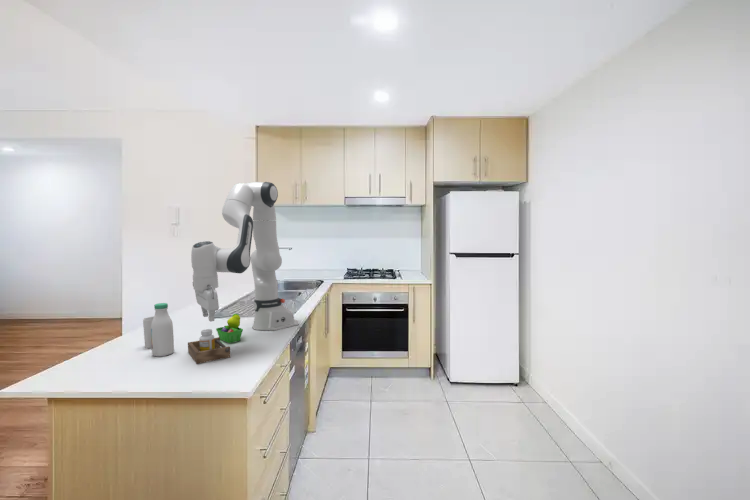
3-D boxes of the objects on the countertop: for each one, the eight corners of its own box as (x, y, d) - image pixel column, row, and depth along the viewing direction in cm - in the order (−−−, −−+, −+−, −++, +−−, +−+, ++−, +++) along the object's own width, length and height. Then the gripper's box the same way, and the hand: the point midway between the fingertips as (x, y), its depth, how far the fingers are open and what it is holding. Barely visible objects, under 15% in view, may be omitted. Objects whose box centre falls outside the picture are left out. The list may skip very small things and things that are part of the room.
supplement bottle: (210, 351, 156) (209, 327, 156) (217, 354, 153) (216, 330, 152) (197, 355, 152) (196, 330, 152) (204, 358, 149) (203, 333, 148)
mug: (157, 348, 161) (156, 319, 160) (140, 348, 161) (139, 320, 160) (169, 341, 171) (168, 314, 171) (154, 341, 171) (152, 314, 170)
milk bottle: (178, 351, 157) (176, 302, 156) (162, 357, 150) (160, 306, 148) (163, 349, 160) (161, 301, 158) (147, 355, 152) (145, 305, 151)
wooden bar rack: (219, 346, 163) (218, 336, 163) (230, 357, 149) (230, 347, 149) (187, 351, 156) (187, 342, 156) (197, 364, 142) (196, 353, 142)
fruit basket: (215, 339, 173) (214, 314, 173) (234, 335, 180) (233, 311, 179) (227, 344, 166) (226, 318, 165) (246, 340, 172) (246, 315, 171)
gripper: (221, 285, 144) (224, 322, 146) (208, 279, 161) (210, 312, 162) (203, 288, 141) (206, 325, 142) (191, 281, 157) (194, 315, 158)
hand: (208, 318), depth 152 cm, fingers open, 8 cm apart
